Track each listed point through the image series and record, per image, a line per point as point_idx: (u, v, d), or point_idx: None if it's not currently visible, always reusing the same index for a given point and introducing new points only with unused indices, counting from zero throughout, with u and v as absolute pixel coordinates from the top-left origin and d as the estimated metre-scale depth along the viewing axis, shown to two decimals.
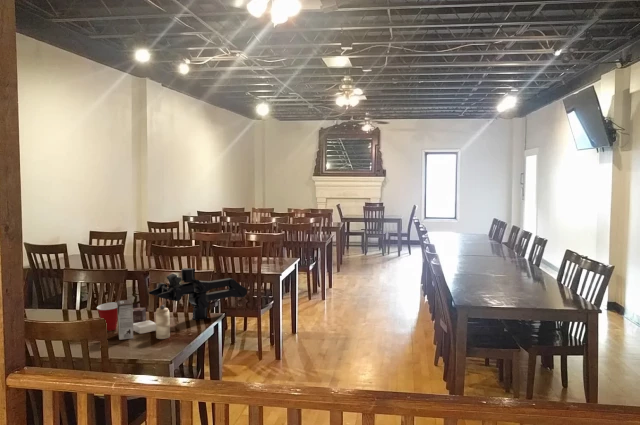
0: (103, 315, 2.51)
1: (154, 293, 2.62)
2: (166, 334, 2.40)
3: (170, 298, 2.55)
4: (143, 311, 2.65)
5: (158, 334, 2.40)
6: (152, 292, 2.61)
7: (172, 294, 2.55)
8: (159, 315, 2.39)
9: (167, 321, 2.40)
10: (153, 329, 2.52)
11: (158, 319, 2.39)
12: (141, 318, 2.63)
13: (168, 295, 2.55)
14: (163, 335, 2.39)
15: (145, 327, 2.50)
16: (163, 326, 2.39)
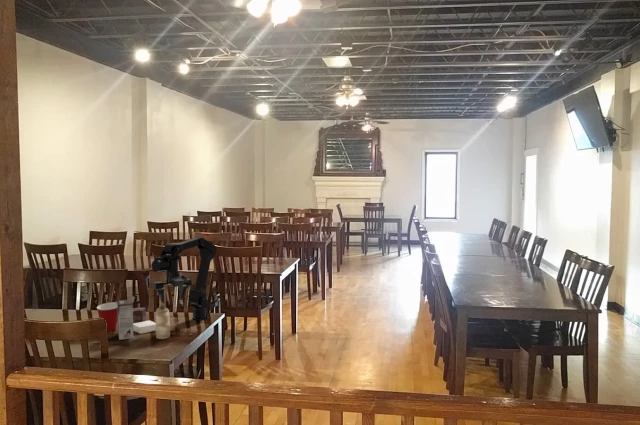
0: (103, 315, 2.51)
1: None
2: (166, 334, 2.40)
3: None
4: (143, 311, 2.65)
5: (158, 334, 2.40)
6: None
7: None
8: (159, 315, 2.39)
9: (167, 321, 2.40)
10: (153, 329, 2.52)
11: (158, 319, 2.39)
12: (141, 318, 2.63)
13: None
14: (163, 335, 2.39)
15: (145, 327, 2.50)
16: (163, 326, 2.39)
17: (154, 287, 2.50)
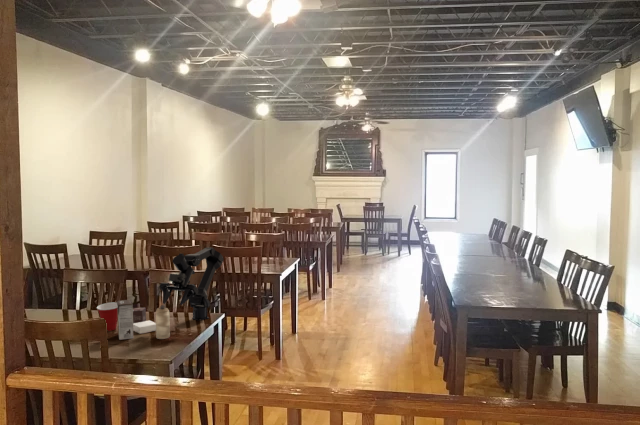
0: (103, 315, 2.51)
1: (166, 299, 2.53)
2: (166, 334, 2.40)
3: (190, 296, 2.52)
4: (143, 311, 2.65)
5: (158, 334, 2.40)
6: (165, 300, 2.52)
7: (190, 293, 2.51)
8: (159, 315, 2.39)
9: (167, 321, 2.40)
10: (153, 329, 2.52)
11: (158, 319, 2.39)
12: (141, 318, 2.63)
13: (187, 296, 2.51)
14: (163, 335, 2.39)
15: (145, 327, 2.50)
16: (163, 326, 2.39)
17: None
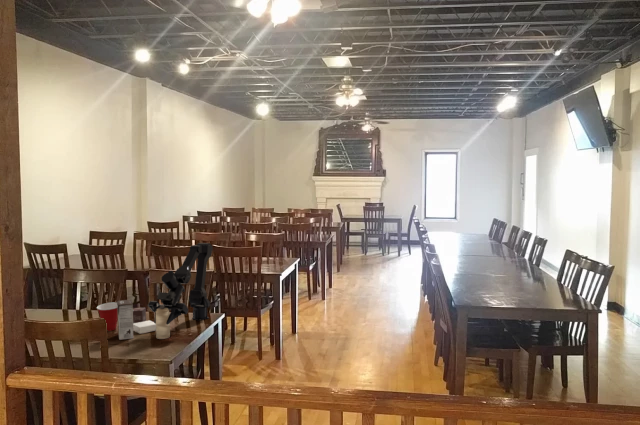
0: (103, 315, 2.51)
1: None
2: (165, 334, 2.40)
3: (177, 315, 2.44)
4: (143, 311, 2.65)
5: (158, 334, 2.40)
6: None
7: (177, 311, 2.43)
8: (159, 315, 2.39)
9: None
10: (153, 329, 2.52)
11: (158, 319, 2.39)
12: (141, 318, 2.63)
13: (173, 315, 2.43)
14: (163, 335, 2.39)
15: (145, 327, 2.50)
16: (163, 326, 2.39)
17: None
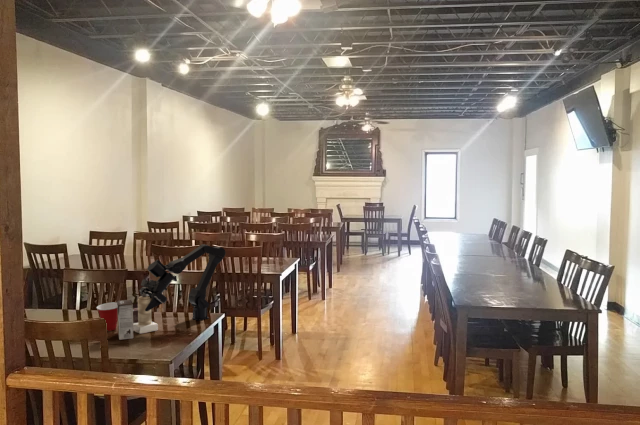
0: (103, 315, 2.51)
1: None
2: (144, 321, 2.51)
3: (158, 303, 2.51)
4: None
5: (138, 320, 2.52)
6: None
7: (156, 300, 2.50)
8: (138, 302, 2.51)
9: None
10: (153, 329, 2.52)
11: (138, 306, 2.52)
12: None
13: (154, 303, 2.51)
14: (141, 322, 2.51)
15: (145, 327, 2.50)
16: (141, 314, 2.51)
17: None
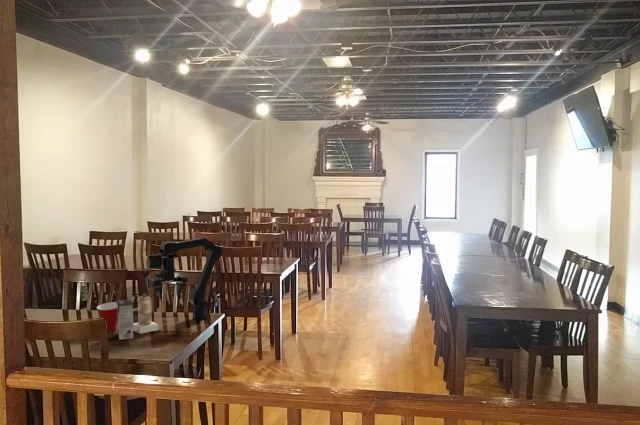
0: (103, 315, 2.51)
1: (178, 291, 2.67)
2: (144, 321, 2.51)
3: (158, 289, 2.58)
4: None
5: (138, 320, 2.52)
6: (177, 293, 2.67)
7: None
8: (139, 302, 2.51)
9: (146, 309, 2.51)
10: (153, 329, 2.52)
11: (138, 306, 2.52)
12: None
13: None
14: (141, 322, 2.51)
15: (145, 327, 2.50)
16: (142, 314, 2.51)
17: None
